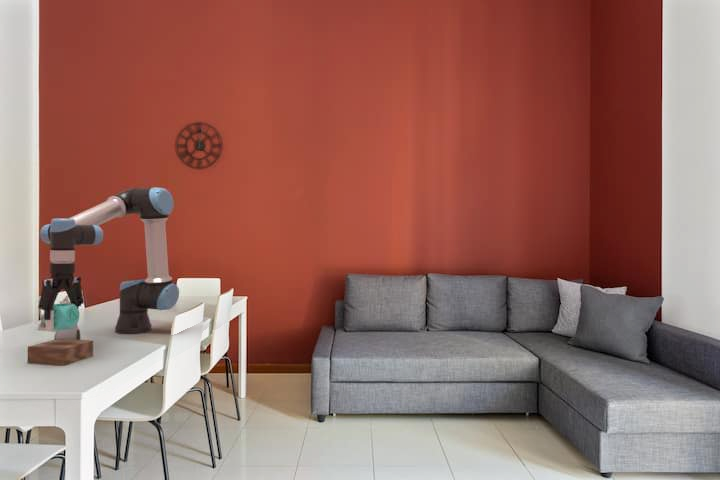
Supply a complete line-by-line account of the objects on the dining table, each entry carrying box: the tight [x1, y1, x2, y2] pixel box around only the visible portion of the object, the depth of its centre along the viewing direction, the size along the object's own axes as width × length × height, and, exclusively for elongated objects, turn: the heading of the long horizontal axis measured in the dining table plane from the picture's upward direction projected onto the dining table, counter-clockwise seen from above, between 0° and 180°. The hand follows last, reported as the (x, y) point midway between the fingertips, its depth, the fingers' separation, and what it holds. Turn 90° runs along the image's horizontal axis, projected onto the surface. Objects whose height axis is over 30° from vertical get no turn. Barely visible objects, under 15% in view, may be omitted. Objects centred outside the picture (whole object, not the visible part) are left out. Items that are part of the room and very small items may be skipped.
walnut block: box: [27, 339, 94, 367], centre depth 179 cm, size 14×14×6 cm
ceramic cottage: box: [37, 295, 79, 333], centre depth 233 cm, size 16×16×15 cm
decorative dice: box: [43, 303, 80, 330], centre depth 179 cm, size 8×8×8 cm
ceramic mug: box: [53, 328, 81, 340], centre depth 195 cm, size 10×8×7 cm
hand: (61, 326), depth 179 cm, fingers closed on decorative dice, 9 cm apart
